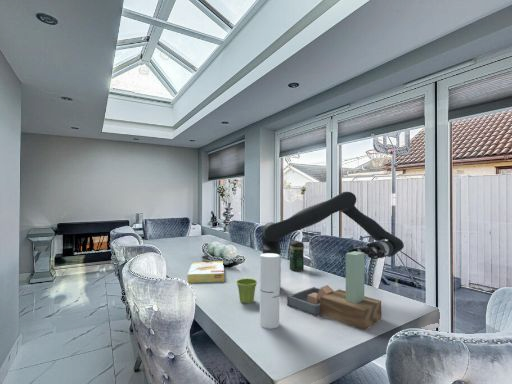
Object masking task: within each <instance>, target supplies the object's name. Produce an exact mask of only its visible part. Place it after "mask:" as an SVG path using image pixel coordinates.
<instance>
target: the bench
mask: <svg viewBox="0 0 512 384" xmlns="http://www.w3.org/2000/svg"><path fill="white" fill-rule="evenodd" d="M319 316H323V317H325V318H328V319H330V320H333V321H337V322H338V323H342V324H344V325H347V326H350V327H352V328H355V329H357V330H360V331H362V332H363V331H364V332H365V331H366V330H368V329H369V328H371V327H373V326H374V325H375V324H377V323H378V322H380V321H381V320H382V300H379V299H375V298H373V297H372V298H371V297H367V296H365V295H364V300H362V301H360V302H358V303H357V304H354V303H351V302H347V301H346V290H342V289H340V288H339V289H336V290H334V292H331V293H329V294H327V295H324V296H322V297H320V315H319Z"/></svg>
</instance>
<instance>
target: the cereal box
mask: <svg viewBox="0 0 512 384" xmlns="http://www.w3.org/2000/svg"><path fill="white" fill-rule="evenodd" d="M224 268H225V266H224V265H223V261H214V262H203V261H195V262H194V261H193V262H191V265H190V267H189V270H188V272H187V274H186V275H187V283H188V282H189V283H191V284H192V283H193V284H194V283H216V282H217V283H218V282H225V269H224Z"/></svg>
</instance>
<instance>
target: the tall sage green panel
mask: <svg viewBox="0 0 512 384" xmlns="http://www.w3.org/2000/svg"><path fill="white" fill-rule="evenodd" d="M345 291H346V301H347V302H351V303H354V304H357V303H358V302H360V301H362V300H364V296H365V255H364V253H362V252H356V251H354V252H350V253H349V252H347V253H345Z"/></svg>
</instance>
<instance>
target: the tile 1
mask: <svg viewBox="0 0 512 384" xmlns="http://www.w3.org/2000/svg"><path fill="white" fill-rule="evenodd" d="M317 294H318V293H312V294H309V295H308V297H307V302H309V303H312V304H315V305H317V304H319V303H320V300H319V299H318V298H317V297H316V296H317Z"/></svg>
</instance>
